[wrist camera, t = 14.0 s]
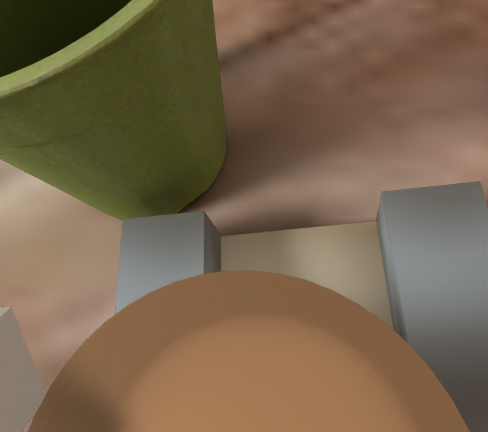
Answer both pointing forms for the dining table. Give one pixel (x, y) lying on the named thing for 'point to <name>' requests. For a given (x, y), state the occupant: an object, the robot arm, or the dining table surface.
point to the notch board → (356, 272)
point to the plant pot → (113, 100)
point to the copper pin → (246, 365)
